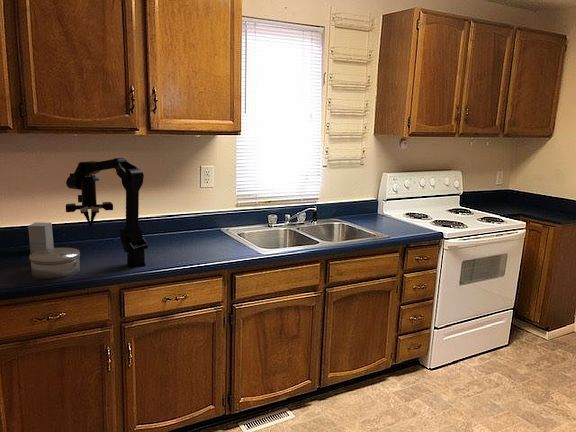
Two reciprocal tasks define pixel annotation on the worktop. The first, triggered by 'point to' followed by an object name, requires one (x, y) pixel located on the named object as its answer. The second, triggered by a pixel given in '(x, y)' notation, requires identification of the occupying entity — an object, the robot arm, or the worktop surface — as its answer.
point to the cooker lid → (54, 255)
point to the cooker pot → (55, 269)
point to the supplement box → (40, 236)
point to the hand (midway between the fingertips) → (90, 226)
